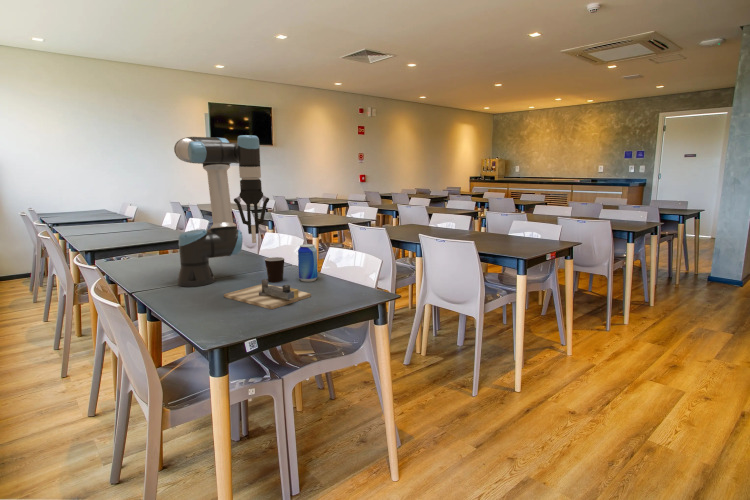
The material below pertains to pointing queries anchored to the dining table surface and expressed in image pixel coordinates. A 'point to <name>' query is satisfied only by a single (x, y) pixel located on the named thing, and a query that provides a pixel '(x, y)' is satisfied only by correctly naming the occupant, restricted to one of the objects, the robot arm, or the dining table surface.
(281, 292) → the swing bar
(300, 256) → the beer can
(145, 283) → the dining table surface
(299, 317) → the dining table surface
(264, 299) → the door board
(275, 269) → the coffee mug
